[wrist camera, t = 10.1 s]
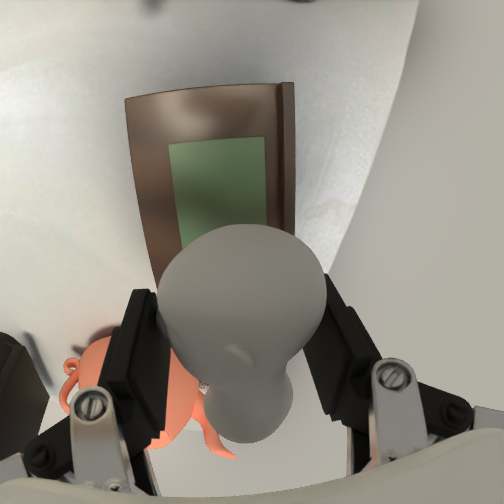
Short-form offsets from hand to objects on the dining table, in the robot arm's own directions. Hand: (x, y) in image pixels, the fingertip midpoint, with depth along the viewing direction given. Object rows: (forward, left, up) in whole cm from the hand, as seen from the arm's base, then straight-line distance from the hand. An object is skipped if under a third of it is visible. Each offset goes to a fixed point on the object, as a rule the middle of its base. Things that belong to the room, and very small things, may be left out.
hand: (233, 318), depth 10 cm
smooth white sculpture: (0, 0, -1) cm, 1 cm away
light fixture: (+31, -25, -17) cm, 44 cm away
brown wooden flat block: (0, 0, -17) cm, 17 cm away
